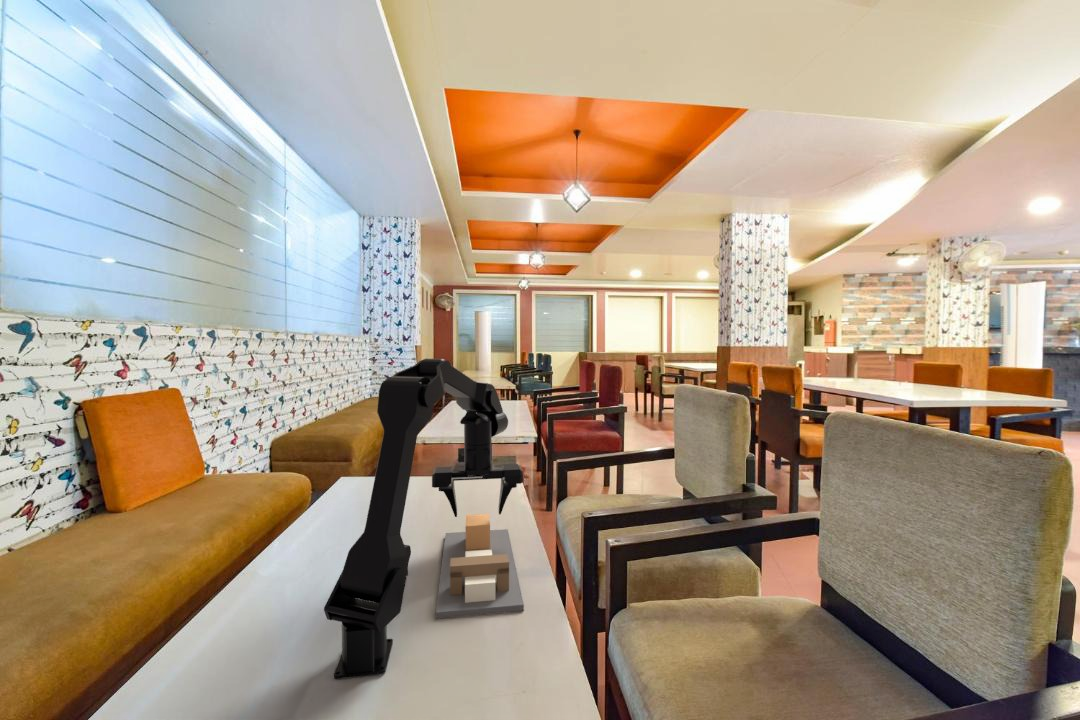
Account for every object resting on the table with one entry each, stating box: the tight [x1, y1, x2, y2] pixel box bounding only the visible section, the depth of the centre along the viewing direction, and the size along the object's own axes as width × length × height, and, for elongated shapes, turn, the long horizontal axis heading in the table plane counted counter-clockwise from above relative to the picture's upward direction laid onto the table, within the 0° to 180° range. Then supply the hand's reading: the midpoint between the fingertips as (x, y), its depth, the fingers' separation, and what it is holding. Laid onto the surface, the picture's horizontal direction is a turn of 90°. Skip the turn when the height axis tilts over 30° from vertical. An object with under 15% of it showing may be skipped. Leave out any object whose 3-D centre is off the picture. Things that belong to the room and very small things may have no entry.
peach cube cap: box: [465, 513, 491, 550], centre depth 94 cm, size 6×5×5 cm
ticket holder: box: [435, 528, 525, 620], centre depth 86 cm, size 30×14×6 cm, turn 9°
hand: (478, 515), depth 94 cm, fingers open, 9 cm apart
